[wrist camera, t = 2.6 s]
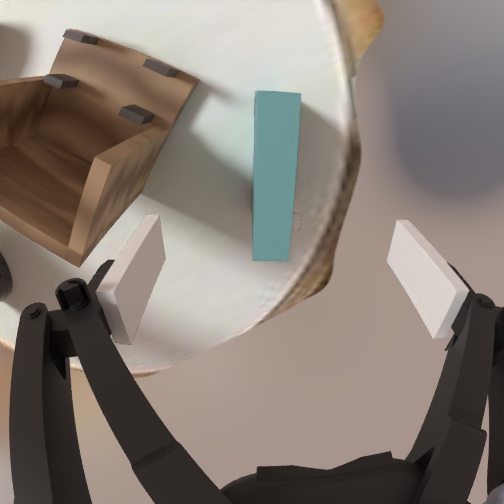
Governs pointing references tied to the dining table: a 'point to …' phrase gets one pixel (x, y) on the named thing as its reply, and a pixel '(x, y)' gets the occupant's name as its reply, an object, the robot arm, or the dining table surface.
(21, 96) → the cabinet
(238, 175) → the dining table surface
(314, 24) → the dining table surface
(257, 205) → the door
